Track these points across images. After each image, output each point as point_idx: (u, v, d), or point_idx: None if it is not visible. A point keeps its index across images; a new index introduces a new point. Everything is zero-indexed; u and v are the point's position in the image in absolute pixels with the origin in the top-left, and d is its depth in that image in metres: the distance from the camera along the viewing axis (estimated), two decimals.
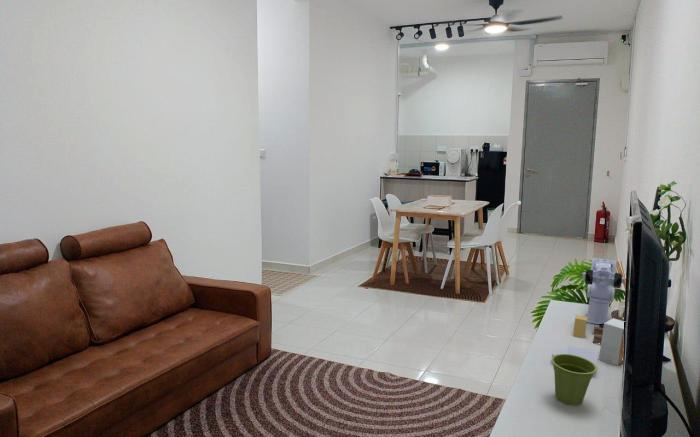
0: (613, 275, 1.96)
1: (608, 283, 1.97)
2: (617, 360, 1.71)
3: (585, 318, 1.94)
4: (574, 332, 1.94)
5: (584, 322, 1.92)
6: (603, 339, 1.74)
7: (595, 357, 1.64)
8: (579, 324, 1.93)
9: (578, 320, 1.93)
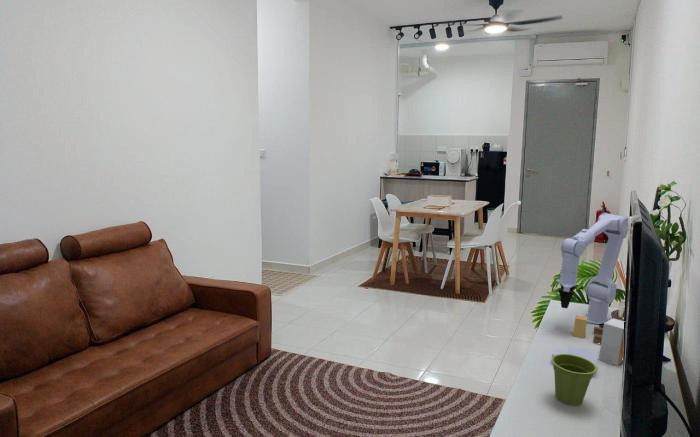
0: None
1: None
2: (617, 360, 1.71)
3: (585, 318, 1.94)
4: (574, 332, 1.94)
5: (584, 322, 1.92)
6: (603, 339, 1.74)
7: (595, 357, 1.64)
8: (579, 324, 1.93)
9: (578, 320, 1.93)
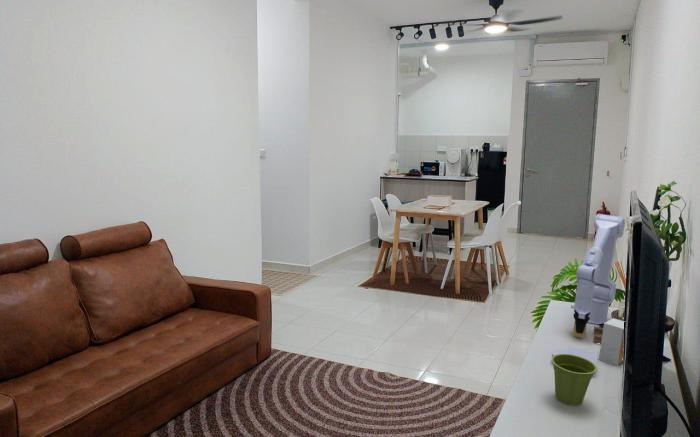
0: None
1: None
2: (617, 360, 1.71)
3: None
4: (574, 332, 1.94)
5: None
6: (603, 339, 1.74)
7: (595, 357, 1.64)
8: None
9: None
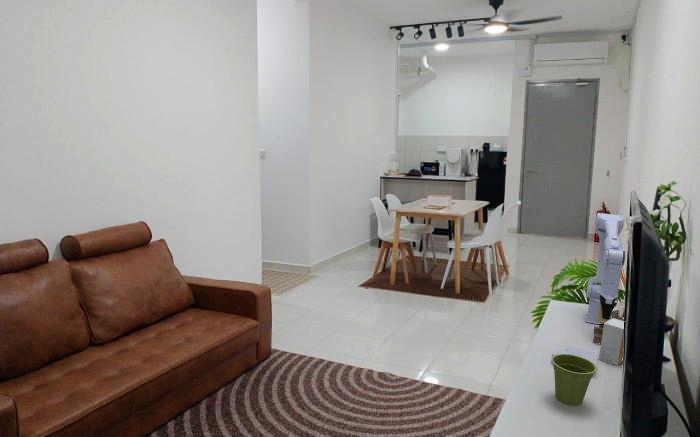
0: None
1: None
2: (617, 360, 1.71)
3: None
4: (599, 318, 1.90)
5: None
6: (603, 339, 1.74)
7: (595, 357, 1.64)
8: None
9: None
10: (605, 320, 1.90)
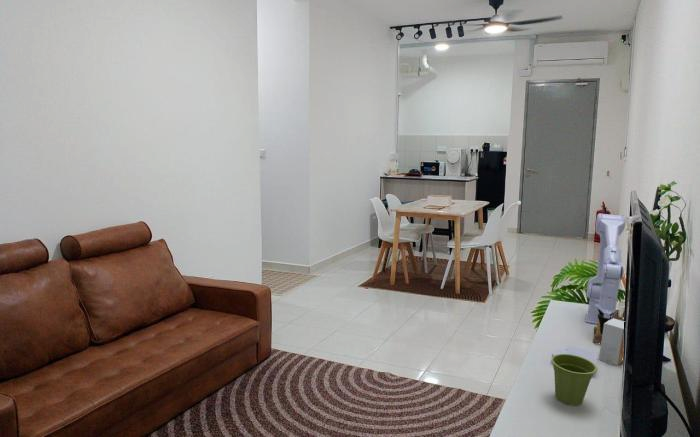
0: None
1: None
2: (617, 360, 1.71)
3: None
4: None
5: None
6: (603, 339, 1.74)
7: (595, 357, 1.64)
8: None
9: None
10: None
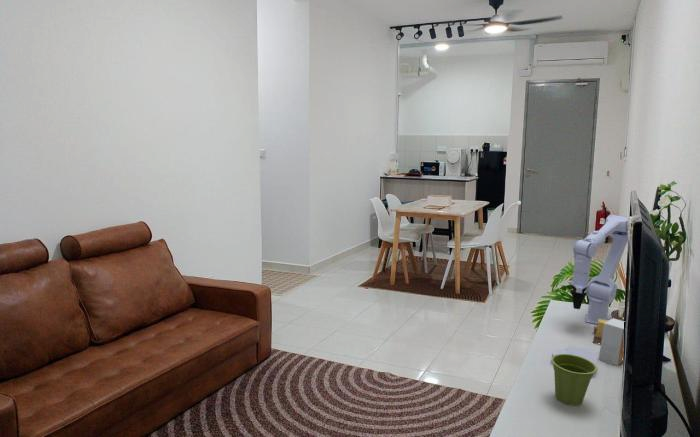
0: None
1: None
2: (617, 360, 1.71)
3: None
4: None
5: None
6: (603, 339, 1.74)
7: (595, 357, 1.64)
8: (602, 328, 1.91)
9: (601, 324, 1.90)
10: None
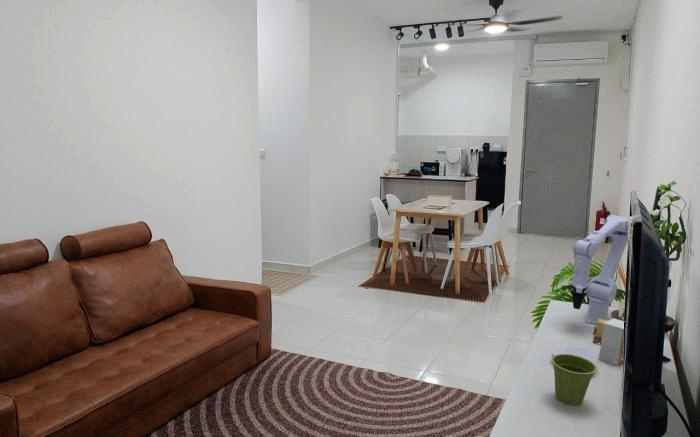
0: None
1: None
2: (617, 360, 1.71)
3: None
4: None
5: None
6: (603, 339, 1.74)
7: (595, 357, 1.64)
8: (602, 328, 1.91)
9: (601, 324, 1.90)
10: None
